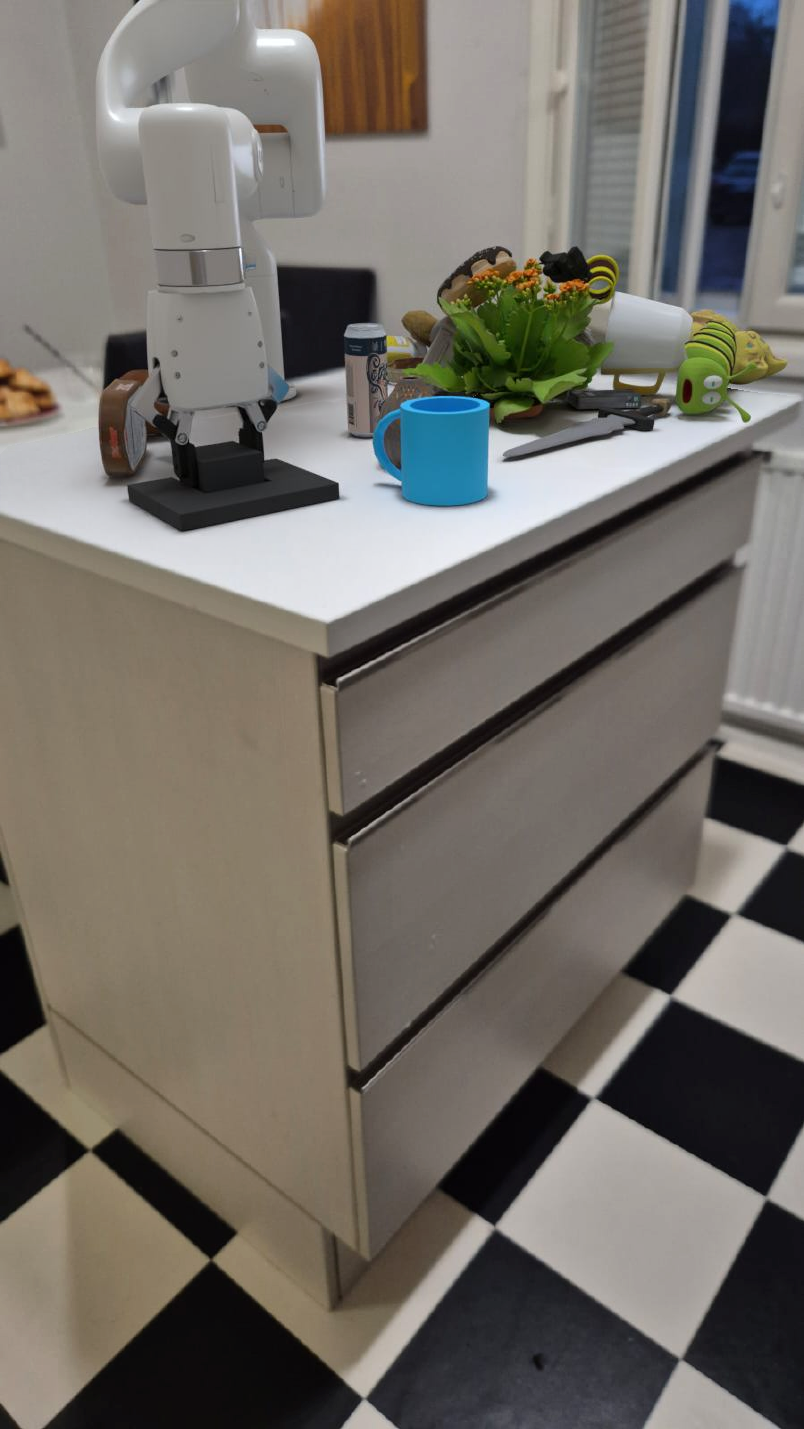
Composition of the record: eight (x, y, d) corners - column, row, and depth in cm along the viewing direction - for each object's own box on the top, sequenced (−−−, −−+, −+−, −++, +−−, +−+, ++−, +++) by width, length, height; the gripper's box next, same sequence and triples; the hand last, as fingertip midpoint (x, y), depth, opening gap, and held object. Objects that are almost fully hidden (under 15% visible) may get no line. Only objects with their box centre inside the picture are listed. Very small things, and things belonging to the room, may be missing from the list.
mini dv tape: (577, 397, 125) (567, 389, 131) (577, 409, 126) (567, 401, 131) (641, 395, 126) (629, 388, 131) (640, 407, 126) (628, 399, 132)
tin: (127, 450, 111) (115, 372, 107) (155, 449, 111) (144, 371, 107) (102, 486, 98) (88, 398, 94) (135, 485, 98) (122, 397, 94)
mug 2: (700, 280, 124) (615, 272, 126) (690, 344, 120) (604, 336, 122) (683, 356, 136) (606, 349, 138) (674, 416, 133) (595, 408, 135)
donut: (525, 276, 130) (510, 249, 130) (514, 260, 119) (497, 230, 119) (454, 325, 134) (439, 299, 133) (437, 314, 123) (420, 285, 122)
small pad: (179, 481, 95) (175, 449, 93) (235, 471, 98) (233, 440, 96) (207, 495, 91) (203, 462, 89) (265, 484, 94) (262, 452, 92)
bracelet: (453, 377, 148) (453, 356, 147) (430, 387, 141) (430, 365, 140) (400, 373, 151) (400, 353, 150) (375, 383, 144) (374, 362, 143)
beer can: (383, 439, 114) (381, 328, 108) (343, 438, 115) (338, 327, 109) (392, 430, 118) (390, 322, 112) (353, 429, 119) (349, 322, 113)
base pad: (128, 500, 93) (126, 484, 93) (277, 472, 101) (276, 458, 101) (182, 531, 85) (179, 514, 84) (339, 498, 93) (339, 482, 92)
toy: (668, 358, 117) (756, 364, 113) (719, 293, 136) (795, 296, 132) (663, 420, 121) (747, 428, 117) (713, 349, 140) (787, 353, 136)
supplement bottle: (359, 377, 151) (416, 379, 155) (372, 365, 146) (431, 368, 150) (355, 341, 151) (413, 345, 155) (368, 328, 146) (428, 332, 150)
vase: (384, 455, 107) (382, 371, 103) (448, 457, 106) (448, 371, 102) (372, 472, 101) (370, 383, 97) (439, 474, 100) (439, 384, 96)
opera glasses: (592, 272, 121) (624, 294, 122) (596, 245, 123) (627, 267, 125) (544, 326, 128) (575, 345, 130) (549, 300, 131) (578, 319, 133)
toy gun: (561, 261, 113) (595, 299, 115) (579, 240, 112) (613, 279, 114) (512, 269, 131) (543, 302, 133) (528, 251, 131) (558, 284, 133)
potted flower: (373, 423, 120) (369, 266, 112) (440, 389, 140) (440, 252, 131) (575, 438, 112) (587, 269, 104) (617, 399, 131) (629, 254, 123)
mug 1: (502, 488, 95) (505, 401, 91) (461, 510, 89) (462, 417, 85) (397, 473, 101) (395, 389, 97) (351, 492, 94) (347, 404, 91)
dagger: (687, 415, 123) (689, 398, 122) (560, 471, 100) (561, 450, 99) (631, 408, 127) (633, 391, 126) (497, 460, 104) (497, 440, 103)
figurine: (709, 305, 144) (803, 328, 136) (696, 365, 150) (785, 392, 141) (665, 315, 138) (760, 341, 129) (652, 378, 143) (743, 407, 134)
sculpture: (476, 376, 150) (450, 374, 163) (489, 355, 149) (462, 356, 163) (406, 322, 145) (386, 325, 159) (419, 301, 144) (398, 306, 158)
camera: (434, 354, 144) (467, 294, 137) (466, 377, 144) (500, 318, 137) (402, 379, 136) (435, 317, 129) (436, 404, 136) (471, 343, 129)
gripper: (267, 263, 93) (281, 457, 101) (87, 275, 84) (119, 485, 92) (308, 268, 87) (319, 471, 96) (120, 280, 78) (151, 503, 87)
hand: (221, 476), depth 94 cm, fingers closed on small pad, 5 cm apart
